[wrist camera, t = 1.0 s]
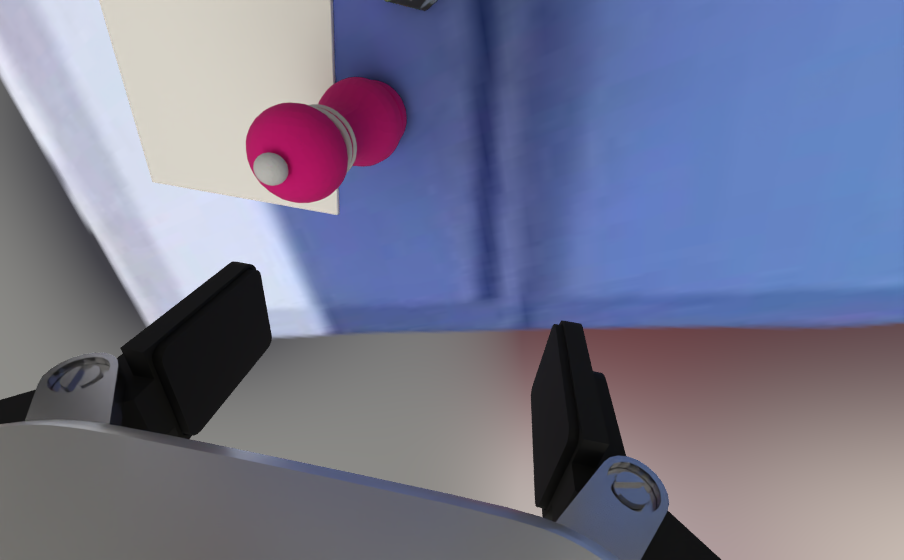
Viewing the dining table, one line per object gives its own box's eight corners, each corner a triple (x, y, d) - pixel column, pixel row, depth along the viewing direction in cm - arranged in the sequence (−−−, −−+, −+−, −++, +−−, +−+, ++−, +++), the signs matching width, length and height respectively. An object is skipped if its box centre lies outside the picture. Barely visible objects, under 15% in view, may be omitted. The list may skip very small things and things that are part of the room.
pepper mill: (347, 153, 40) (224, 233, 23) (333, 75, 36) (174, 101, 19) (415, 153, 39) (338, 236, 22) (408, 72, 35) (310, 97, 18)
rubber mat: (83, -70, 33) (78, -71, 33) (331, -34, 32) (329, -35, 32) (156, 180, 45) (152, 182, 44) (339, 213, 44) (337, 215, 43)
